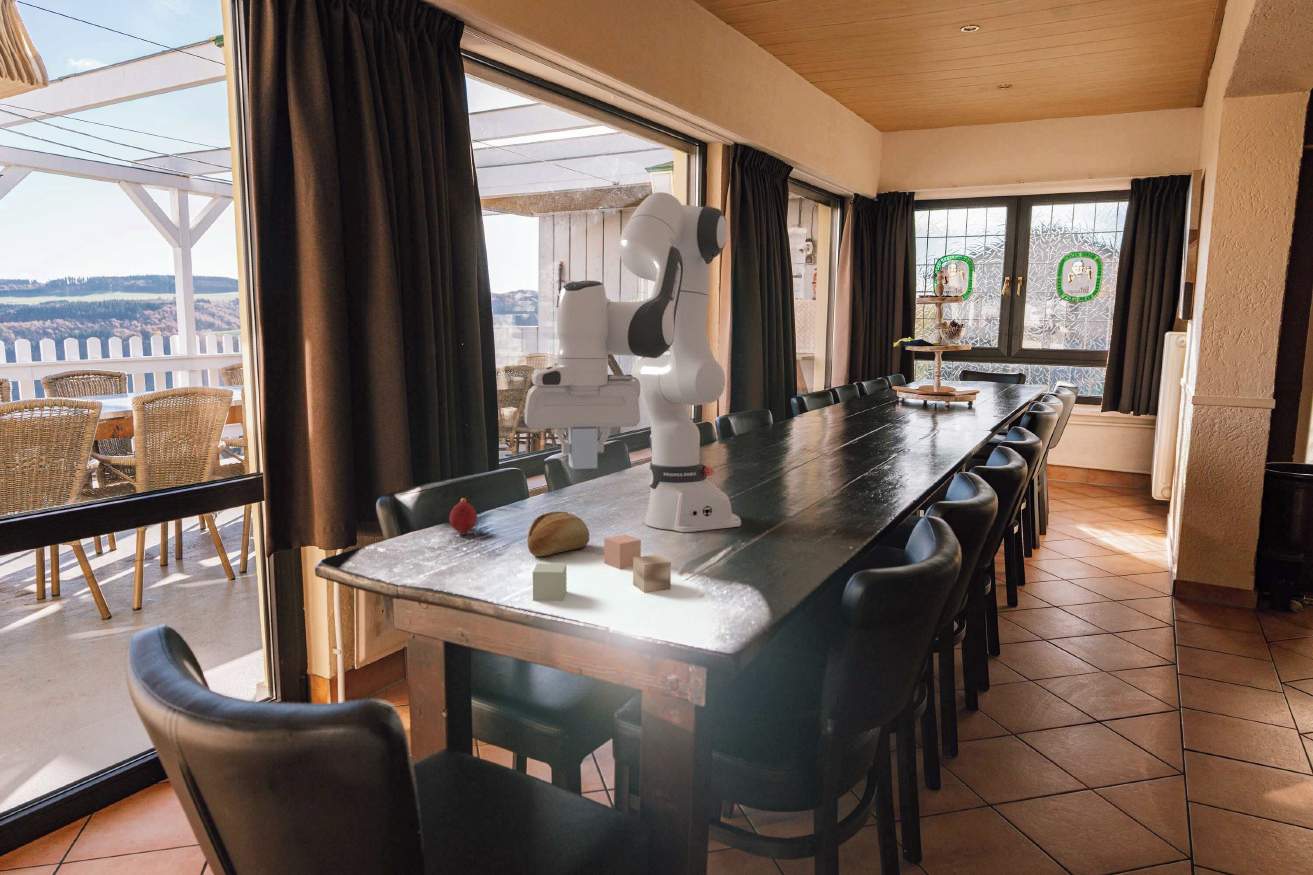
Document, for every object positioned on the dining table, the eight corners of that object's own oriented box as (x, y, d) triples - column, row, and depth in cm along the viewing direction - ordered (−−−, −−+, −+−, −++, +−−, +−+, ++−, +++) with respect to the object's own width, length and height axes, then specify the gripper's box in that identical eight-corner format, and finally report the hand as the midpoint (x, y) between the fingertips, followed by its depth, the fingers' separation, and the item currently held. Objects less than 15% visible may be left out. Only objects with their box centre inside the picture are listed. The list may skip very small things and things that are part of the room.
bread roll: (513, 555, 165) (513, 516, 164) (565, 540, 177) (565, 504, 176) (548, 564, 159) (548, 523, 158) (599, 548, 171) (599, 510, 170)
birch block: (658, 581, 149) (658, 554, 148) (670, 589, 144) (670, 561, 144) (633, 584, 147) (633, 557, 146) (644, 593, 142) (644, 565, 142)
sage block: (566, 591, 143) (566, 563, 142) (563, 601, 138) (562, 572, 137) (537, 591, 143) (537, 563, 142) (533, 601, 138) (532, 571, 137)
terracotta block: (624, 559, 163) (625, 534, 162) (640, 565, 159) (640, 539, 159) (604, 563, 160) (604, 538, 159) (619, 569, 156) (619, 543, 155)
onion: (470, 538, 178) (469, 501, 177) (445, 536, 179) (444, 500, 178) (481, 531, 183) (480, 496, 182) (457, 530, 184) (456, 495, 183)
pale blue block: (592, 464, 150) (592, 425, 149) (597, 468, 145) (597, 428, 144) (568, 464, 148) (568, 426, 148) (572, 468, 144) (572, 429, 143)
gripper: (636, 373, 150) (635, 448, 152) (522, 373, 145) (523, 451, 147) (644, 375, 144) (644, 453, 146) (526, 376, 139) (527, 457, 141)
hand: (582, 452), depth 147 cm, fingers closed on pale blue block, 4 cm apart
